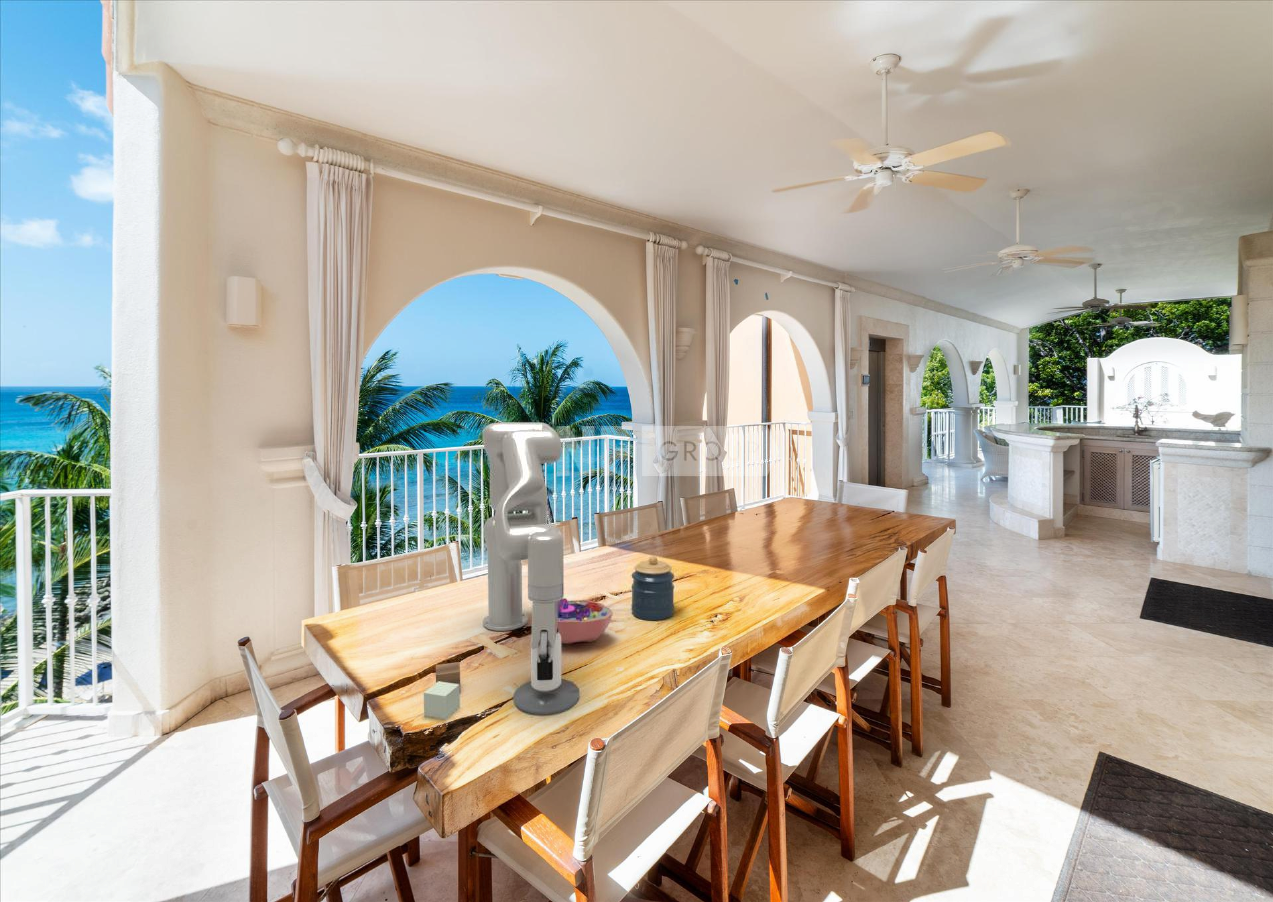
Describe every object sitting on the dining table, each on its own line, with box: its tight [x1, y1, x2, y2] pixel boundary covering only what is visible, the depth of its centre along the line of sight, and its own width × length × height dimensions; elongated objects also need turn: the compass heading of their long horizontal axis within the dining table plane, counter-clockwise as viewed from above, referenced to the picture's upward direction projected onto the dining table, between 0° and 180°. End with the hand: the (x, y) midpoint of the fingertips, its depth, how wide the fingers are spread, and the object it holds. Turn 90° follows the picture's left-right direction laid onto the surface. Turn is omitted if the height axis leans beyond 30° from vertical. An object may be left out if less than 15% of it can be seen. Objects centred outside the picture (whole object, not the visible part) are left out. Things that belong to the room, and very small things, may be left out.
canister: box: [630, 555, 675, 621], centre depth 171 cm, size 13×13×18 cm
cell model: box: [557, 597, 614, 644], centre depth 151 cm, size 17×20×11 cm
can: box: [530, 628, 562, 692], centre depth 122 cm, size 6×6×12 cm
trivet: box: [513, 677, 580, 716], centre depth 122 cm, size 14×14×1 cm
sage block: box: [423, 681, 461, 721], centre depth 116 cm, size 5×5×5 cm
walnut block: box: [435, 661, 461, 688], centre depth 125 cm, size 5×5×5 cm
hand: (546, 670), depth 122 cm, fingers closed on can, 6 cm apart
